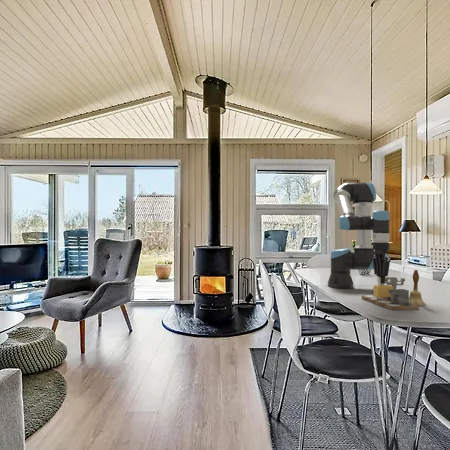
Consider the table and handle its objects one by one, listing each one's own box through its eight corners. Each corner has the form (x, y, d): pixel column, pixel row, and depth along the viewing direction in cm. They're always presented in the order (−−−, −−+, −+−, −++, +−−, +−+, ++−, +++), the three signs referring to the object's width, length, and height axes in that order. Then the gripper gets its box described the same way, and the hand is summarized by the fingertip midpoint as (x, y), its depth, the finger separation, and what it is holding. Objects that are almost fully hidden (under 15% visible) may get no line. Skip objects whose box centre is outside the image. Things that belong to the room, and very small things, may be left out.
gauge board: (361, 298, 167) (361, 283, 167) (385, 298, 168) (385, 282, 168) (391, 310, 143) (391, 291, 143) (418, 309, 144) (418, 291, 145)
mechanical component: (405, 297, 170) (405, 278, 170) (384, 296, 172) (384, 277, 172) (403, 296, 173) (403, 277, 173) (382, 295, 175) (382, 276, 175)
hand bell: (419, 301, 160) (419, 269, 160) (429, 305, 152) (429, 271, 152) (402, 301, 160) (402, 269, 161) (411, 305, 152) (411, 271, 152)
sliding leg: (373, 297, 159) (373, 285, 160) (388, 296, 161) (388, 285, 161) (378, 298, 156) (378, 286, 156) (393, 298, 157) (393, 286, 157)
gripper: (366, 241, 167) (366, 287, 167) (381, 242, 154) (382, 292, 154) (380, 241, 168) (380, 287, 168) (396, 242, 155) (396, 292, 155)
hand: (381, 290), depth 161 cm, fingers closed
